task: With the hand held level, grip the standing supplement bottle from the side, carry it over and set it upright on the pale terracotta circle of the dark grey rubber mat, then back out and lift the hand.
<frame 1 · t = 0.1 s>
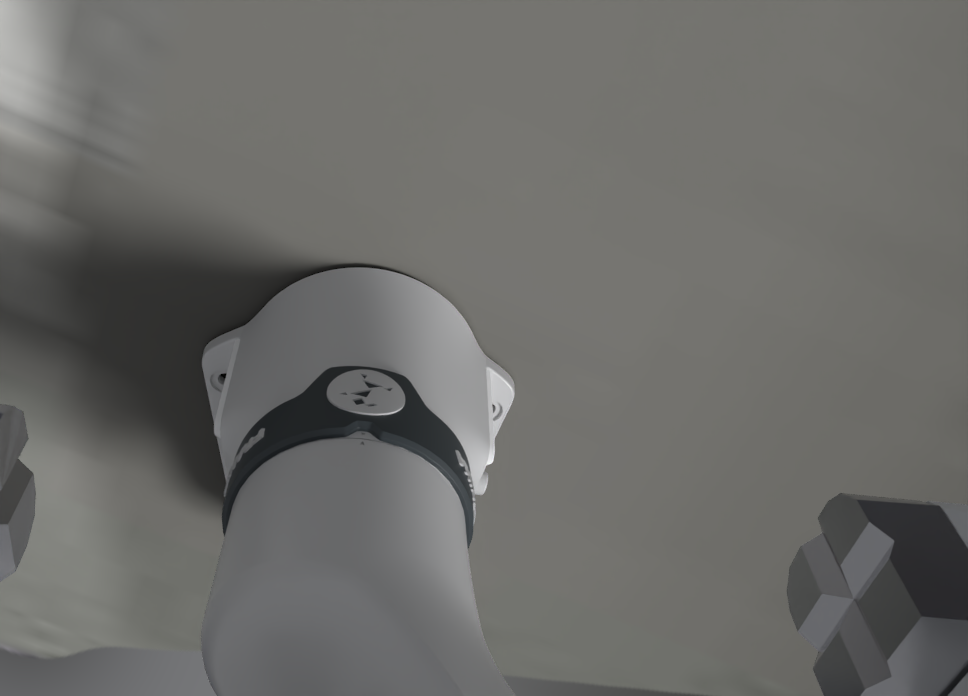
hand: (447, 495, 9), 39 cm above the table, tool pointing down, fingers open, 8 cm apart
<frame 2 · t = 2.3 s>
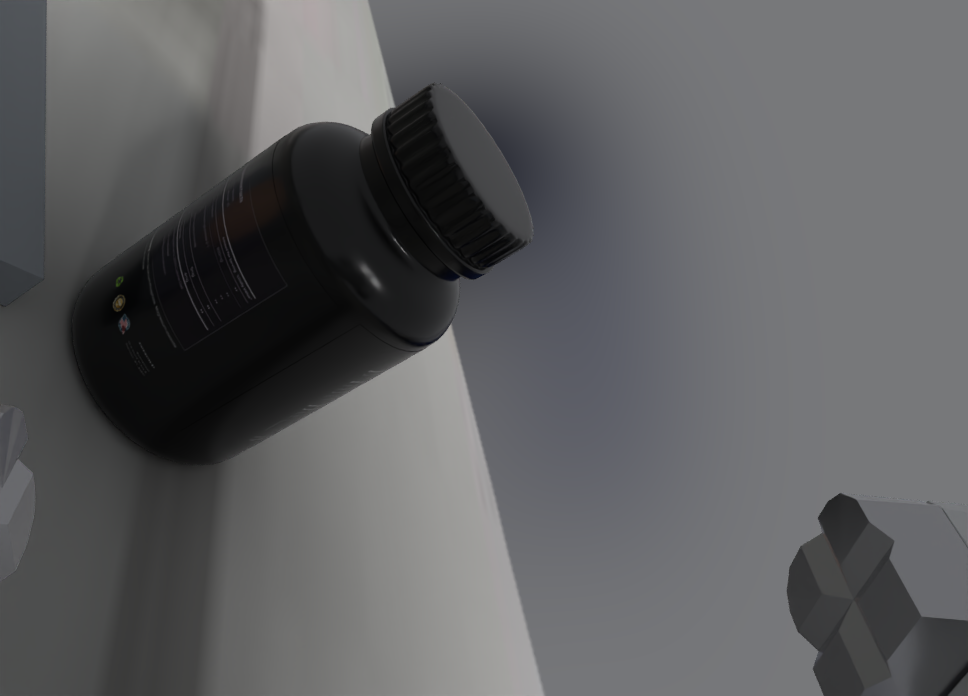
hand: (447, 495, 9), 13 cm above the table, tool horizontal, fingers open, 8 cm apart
supplement bottle: (154, 371, 27), on the table
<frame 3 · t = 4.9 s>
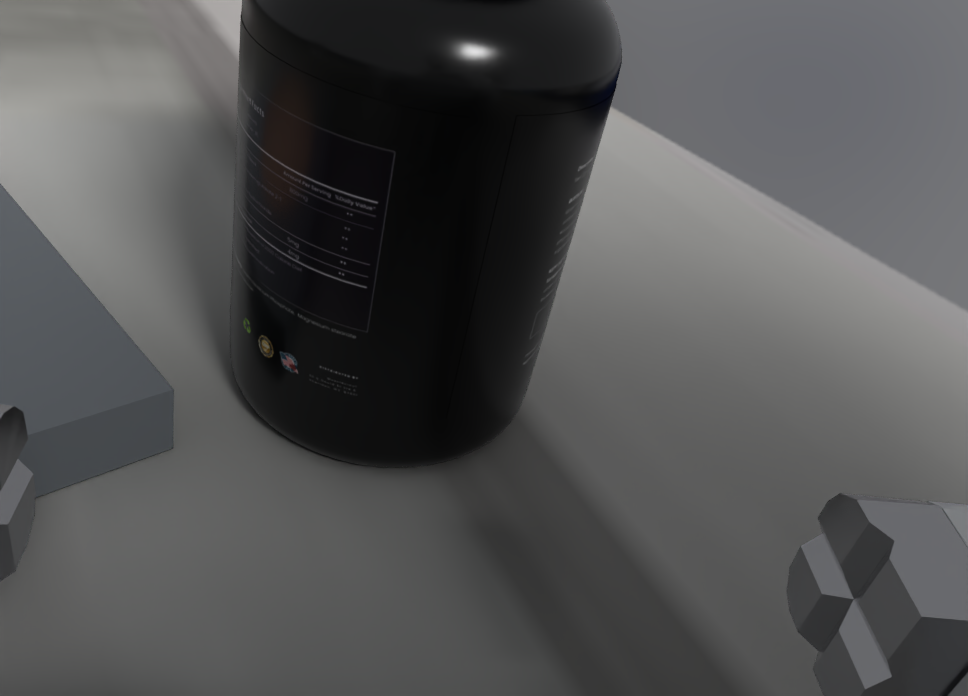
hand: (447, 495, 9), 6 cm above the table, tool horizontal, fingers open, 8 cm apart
supplement bottle: (375, 382, 20), on the table
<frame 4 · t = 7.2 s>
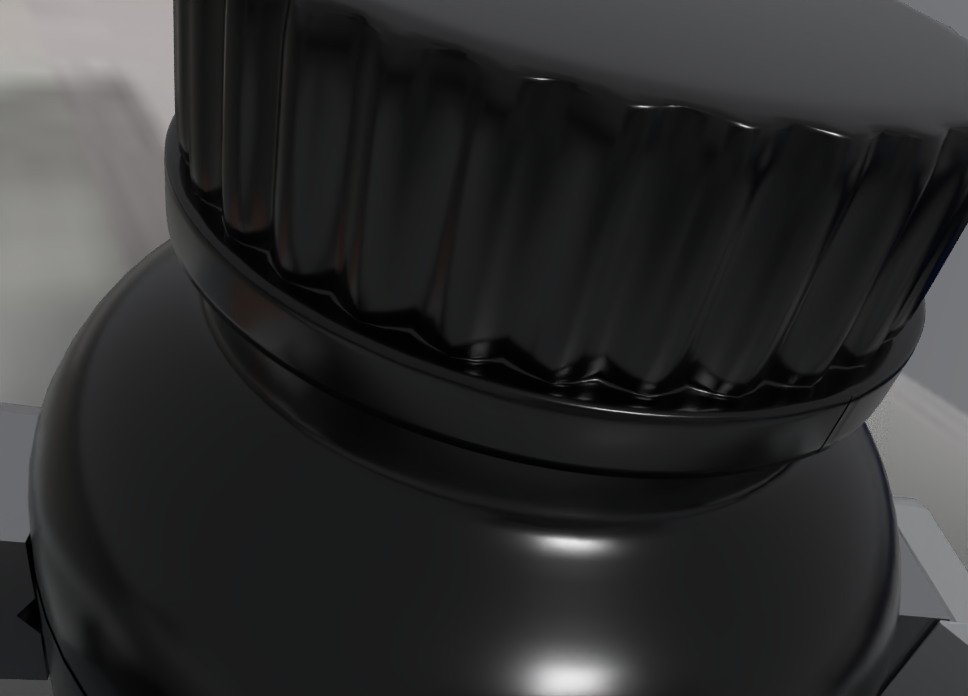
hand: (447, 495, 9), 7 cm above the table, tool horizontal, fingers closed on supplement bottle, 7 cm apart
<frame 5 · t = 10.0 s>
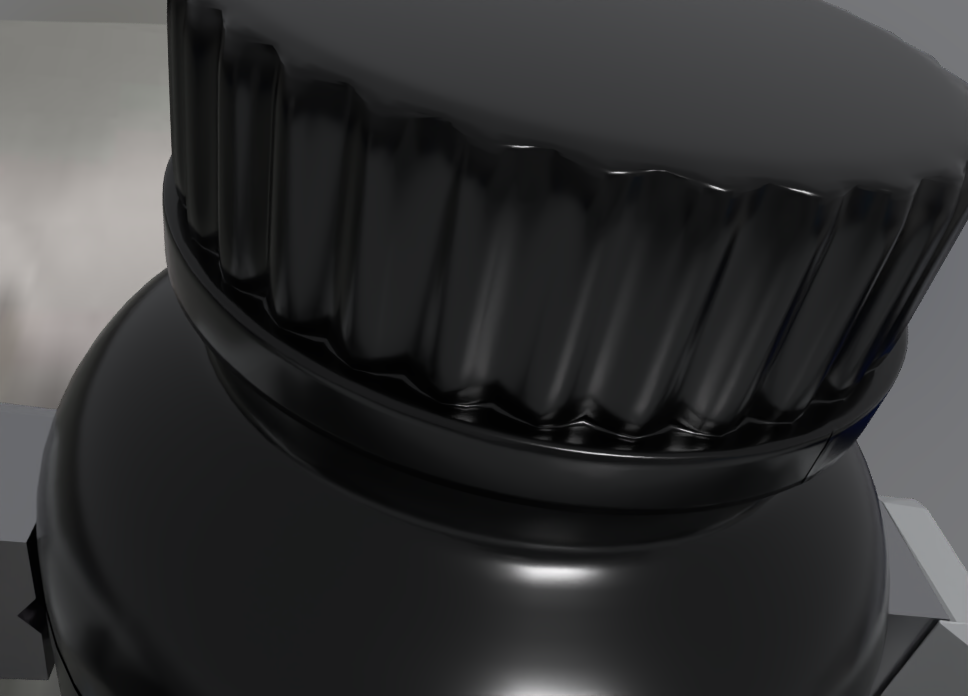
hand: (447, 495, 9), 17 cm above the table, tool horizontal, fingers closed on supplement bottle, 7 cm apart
when the fingers open (9 cm above the table, at t = 13.0 s): supplement bottle stays where it is, resting on mat.
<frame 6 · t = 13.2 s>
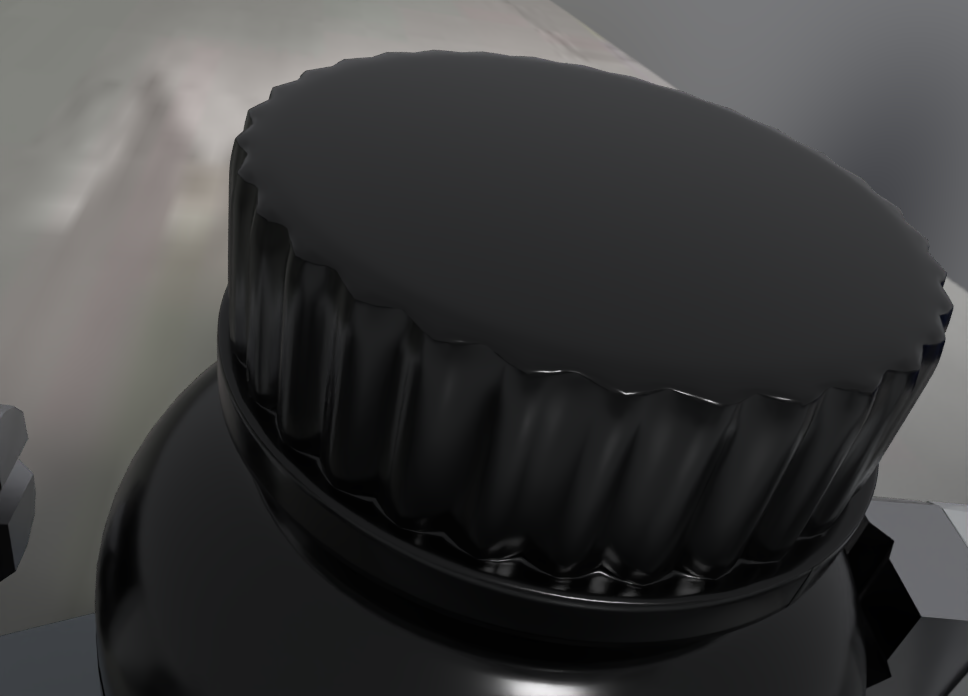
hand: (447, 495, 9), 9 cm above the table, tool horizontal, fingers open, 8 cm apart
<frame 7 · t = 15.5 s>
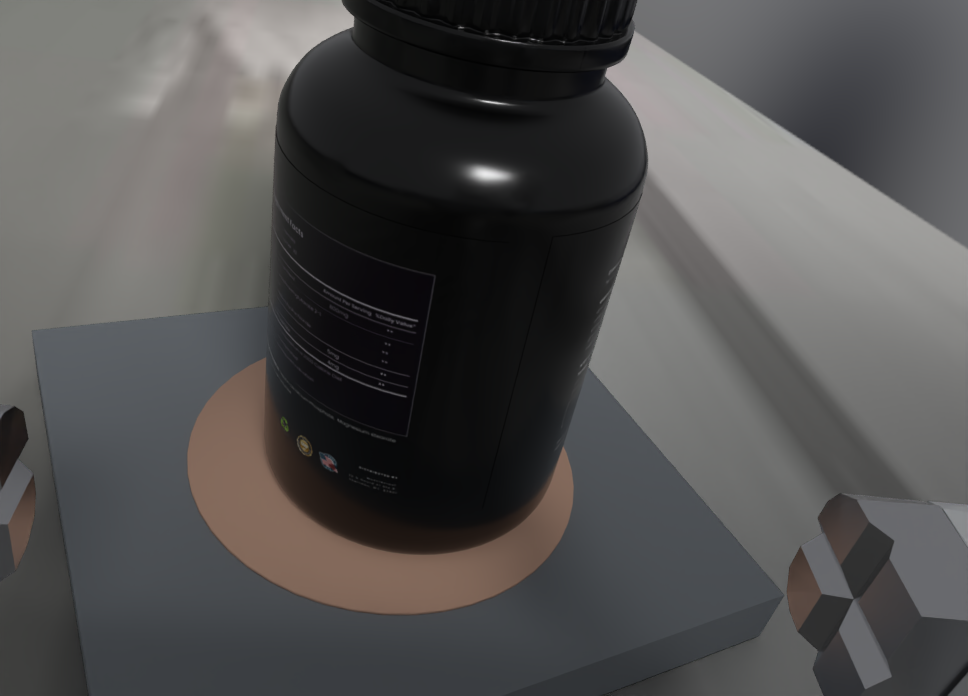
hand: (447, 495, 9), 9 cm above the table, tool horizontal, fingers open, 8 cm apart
supplement bottle: (405, 460, 21), point 1 cm above the table, touching mat
mat: (379, 499, 22), on the table
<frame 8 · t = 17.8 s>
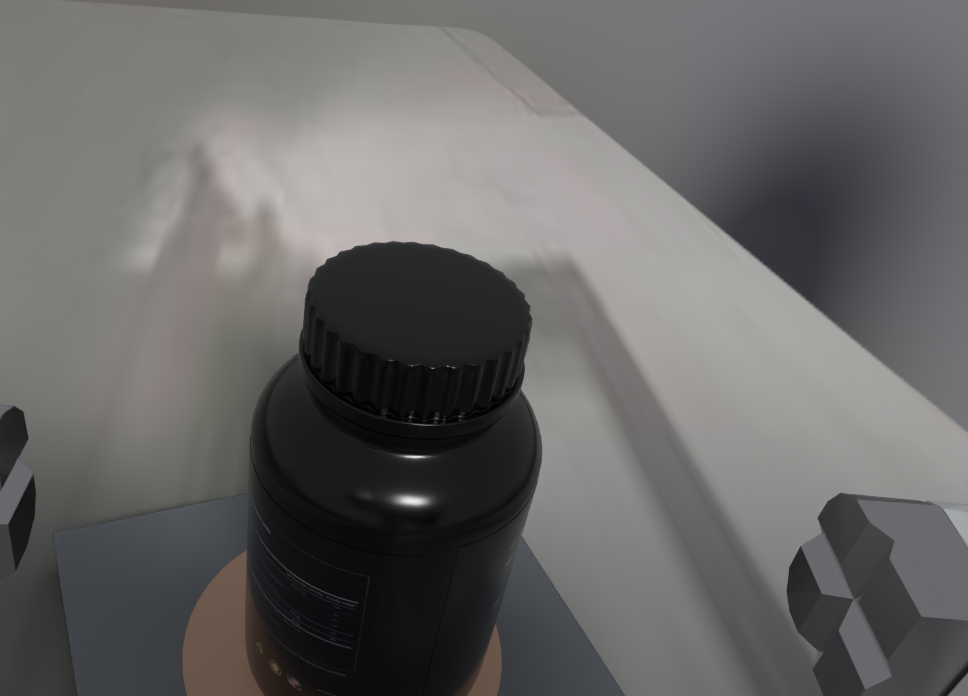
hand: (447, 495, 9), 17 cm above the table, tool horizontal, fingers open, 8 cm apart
supplement bottle: (362, 647, 25), point 1 cm above the table, touching mat
mat: (342, 674, 26), on the table
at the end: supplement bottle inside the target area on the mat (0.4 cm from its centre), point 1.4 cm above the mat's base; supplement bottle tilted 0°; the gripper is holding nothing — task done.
